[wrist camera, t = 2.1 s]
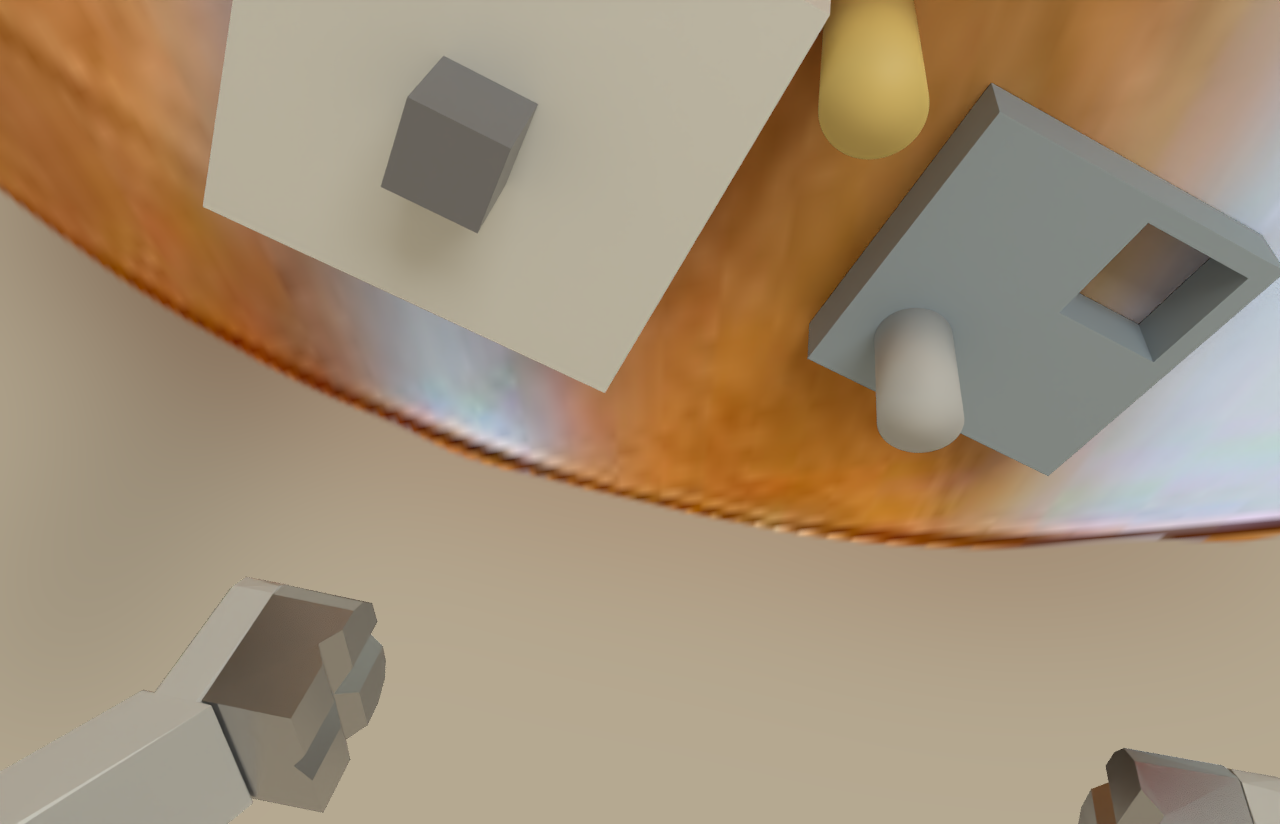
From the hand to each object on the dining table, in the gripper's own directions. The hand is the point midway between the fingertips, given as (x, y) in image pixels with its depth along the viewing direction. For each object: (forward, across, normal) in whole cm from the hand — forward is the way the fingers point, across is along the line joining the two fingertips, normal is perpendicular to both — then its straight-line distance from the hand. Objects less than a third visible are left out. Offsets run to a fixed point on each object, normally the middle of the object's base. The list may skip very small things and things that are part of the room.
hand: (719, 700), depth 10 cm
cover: (+28, +10, +2) cm, 30 cm away
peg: (+28, -1, 0) cm, 28 cm away
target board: (+29, -9, +10) cm, 32 cm away
